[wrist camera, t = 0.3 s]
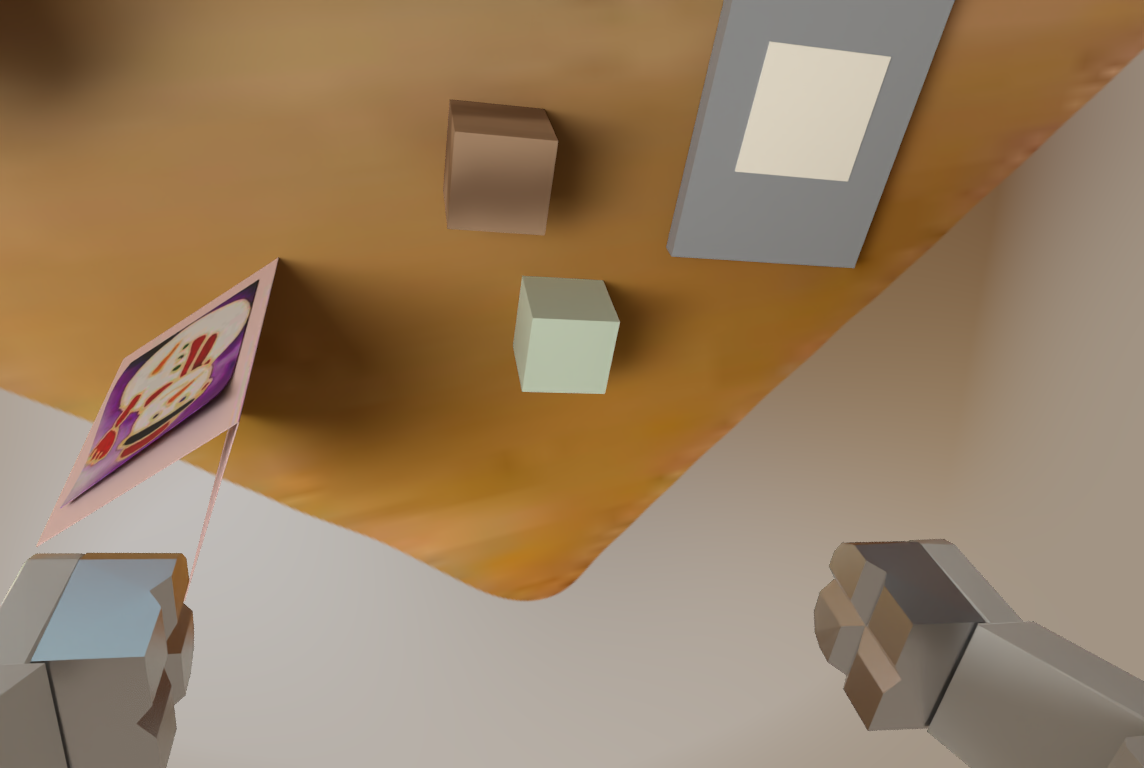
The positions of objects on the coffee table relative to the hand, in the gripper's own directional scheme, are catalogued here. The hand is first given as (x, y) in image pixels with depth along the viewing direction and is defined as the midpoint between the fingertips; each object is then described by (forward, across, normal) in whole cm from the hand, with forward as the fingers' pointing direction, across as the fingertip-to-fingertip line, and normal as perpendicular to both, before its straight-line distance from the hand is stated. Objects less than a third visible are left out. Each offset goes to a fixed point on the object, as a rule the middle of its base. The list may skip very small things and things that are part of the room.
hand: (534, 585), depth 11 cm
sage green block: (+39, -9, +14) cm, 43 cm away
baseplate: (+38, -21, 0) cm, 43 cm away
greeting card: (+40, +10, +16) cm, 44 cm away
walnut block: (+38, -4, +4) cm, 39 cm away
